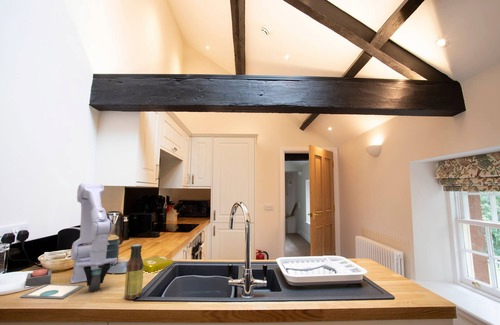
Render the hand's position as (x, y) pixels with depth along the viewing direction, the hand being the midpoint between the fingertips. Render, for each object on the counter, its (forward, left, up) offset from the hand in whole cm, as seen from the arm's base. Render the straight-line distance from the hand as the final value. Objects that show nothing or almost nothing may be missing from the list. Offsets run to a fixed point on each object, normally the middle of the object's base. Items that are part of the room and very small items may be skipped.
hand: (94, 284), depth 95 cm
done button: (+18, -22, 0) cm, 29 cm away
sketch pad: (+13, -7, -2) cm, 15 cm away
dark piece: (0, 0, -2) cm, 2 cm away
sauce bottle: (-11, +15, -3) cm, 19 cm away
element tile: (-29, -15, -3) cm, 33 cm away
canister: (-9, -36, -3) cm, 37 cm away
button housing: (+18, -22, -2) cm, 29 cm away
